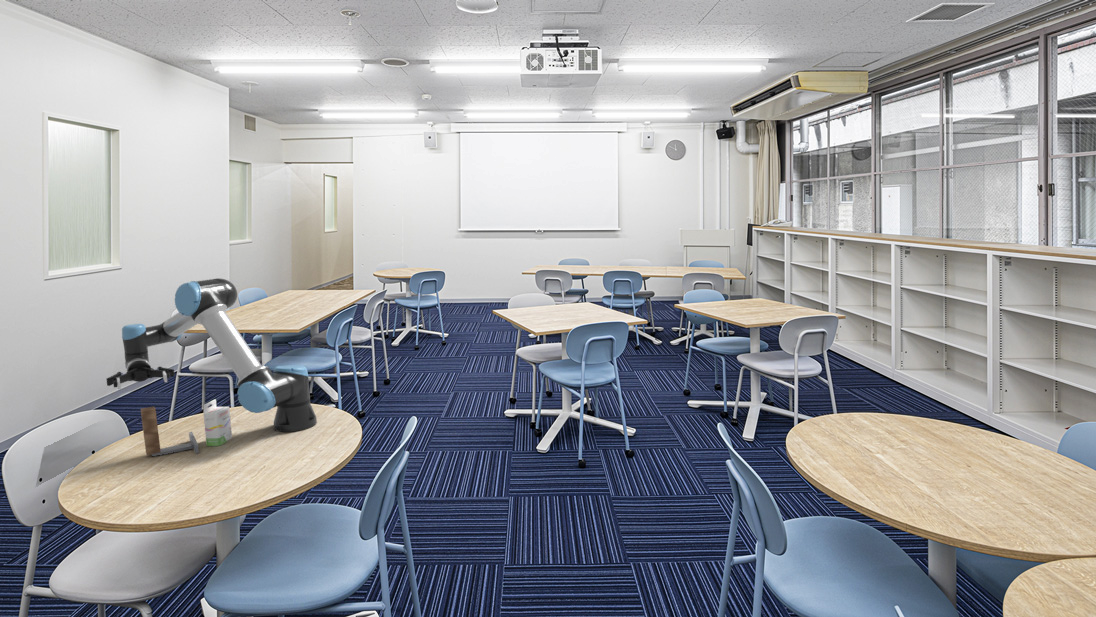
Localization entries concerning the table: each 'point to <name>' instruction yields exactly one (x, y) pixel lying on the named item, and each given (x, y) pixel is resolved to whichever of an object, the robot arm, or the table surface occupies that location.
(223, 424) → the ink box
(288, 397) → the robot arm
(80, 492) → the table surface
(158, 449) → the wooden post on rail
